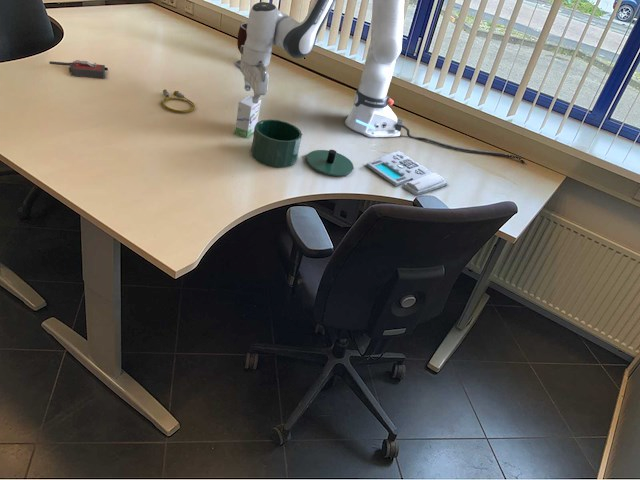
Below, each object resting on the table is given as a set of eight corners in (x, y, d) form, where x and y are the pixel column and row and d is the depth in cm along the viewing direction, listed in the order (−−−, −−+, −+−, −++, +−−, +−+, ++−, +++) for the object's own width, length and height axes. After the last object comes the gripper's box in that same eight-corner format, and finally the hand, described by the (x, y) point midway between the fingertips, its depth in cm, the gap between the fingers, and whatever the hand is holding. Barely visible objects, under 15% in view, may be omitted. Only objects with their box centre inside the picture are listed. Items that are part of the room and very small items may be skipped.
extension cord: (196, 97, 206) (197, 92, 205) (193, 115, 194) (193, 110, 192) (163, 92, 204) (163, 87, 202) (157, 110, 191) (157, 105, 190)
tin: (290, 146, 191) (295, 121, 186) (300, 168, 180) (306, 143, 174) (247, 143, 186) (251, 117, 181) (255, 166, 175) (259, 140, 169)
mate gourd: (233, 58, 247) (239, 13, 235) (264, 63, 250) (271, 18, 239) (235, 71, 235) (241, 24, 223) (267, 76, 238) (274, 30, 227)
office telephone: (449, 179, 192) (416, 192, 179) (447, 185, 193) (413, 198, 180) (400, 147, 203) (365, 157, 190) (398, 153, 205) (363, 164, 192)
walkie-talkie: (108, 69, 209) (49, 65, 201) (107, 58, 206) (48, 53, 199) (108, 79, 202) (48, 74, 195) (108, 67, 200) (47, 62, 192)
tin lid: (344, 154, 195) (348, 141, 192) (358, 178, 183) (362, 165, 180) (301, 151, 190) (304, 138, 187) (312, 176, 178) (316, 162, 175)
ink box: (246, 138, 189) (251, 106, 182) (233, 133, 190) (238, 102, 183) (256, 129, 196) (261, 99, 189) (244, 125, 196) (248, 94, 189)
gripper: (275, 69, 171) (268, 110, 179) (257, 45, 185) (251, 84, 193) (256, 68, 168) (250, 109, 176) (239, 43, 182) (234, 83, 190)
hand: (250, 96), depth 185 cm, fingers open, 8 cm apart
